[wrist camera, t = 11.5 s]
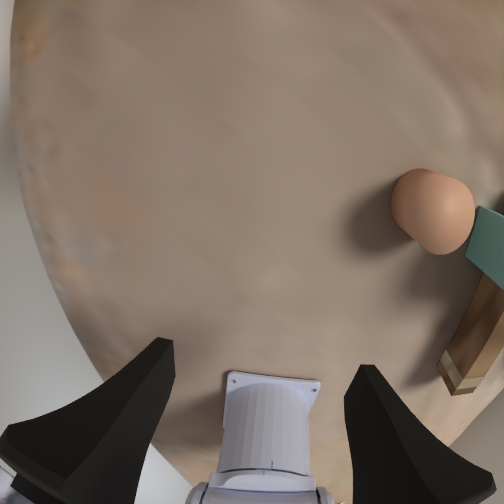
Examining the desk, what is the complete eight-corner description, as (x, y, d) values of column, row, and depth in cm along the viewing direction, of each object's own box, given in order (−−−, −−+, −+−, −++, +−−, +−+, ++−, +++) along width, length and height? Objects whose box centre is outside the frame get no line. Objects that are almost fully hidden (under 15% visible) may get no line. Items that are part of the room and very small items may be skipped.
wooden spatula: (457, 365, 22) (473, 392, 18) (435, 366, 22) (451, 396, 18) (528, 190, 14) (560, 204, 11) (509, 180, 15) (543, 192, 11)
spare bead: (435, 238, 17) (461, 259, 14) (383, 227, 17) (404, 248, 14) (451, 177, 15) (482, 189, 12) (398, 160, 15) (424, 168, 12)
